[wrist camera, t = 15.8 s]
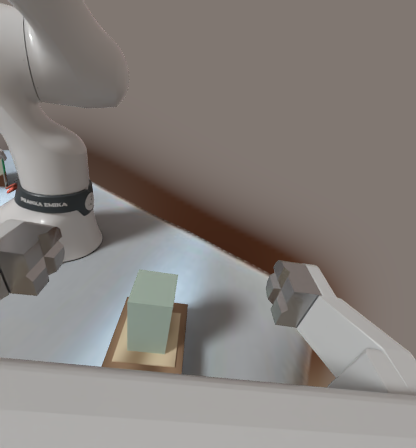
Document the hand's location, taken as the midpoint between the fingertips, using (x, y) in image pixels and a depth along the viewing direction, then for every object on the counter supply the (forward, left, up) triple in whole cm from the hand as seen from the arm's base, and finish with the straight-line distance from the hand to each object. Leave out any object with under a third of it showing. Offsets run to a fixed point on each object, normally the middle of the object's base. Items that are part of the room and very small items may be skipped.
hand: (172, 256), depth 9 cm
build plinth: (-2, +12, -30) cm, 32 cm away
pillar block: (-2, +12, -26) cm, 29 cm away
